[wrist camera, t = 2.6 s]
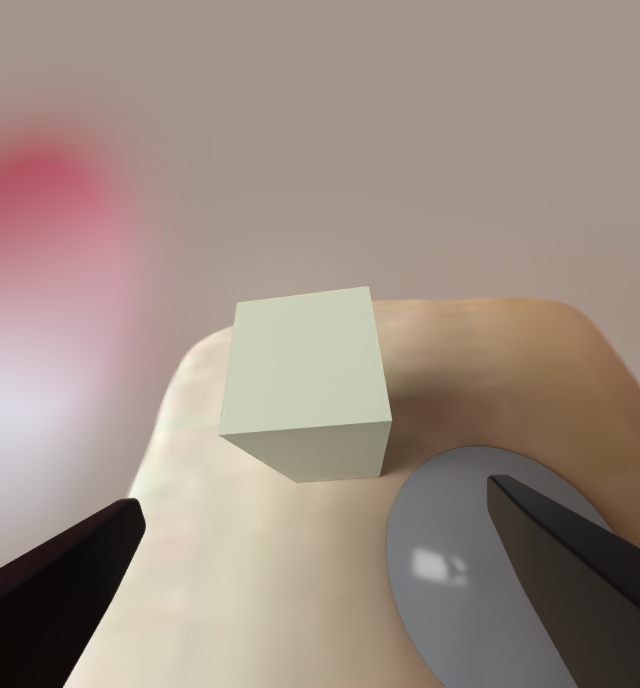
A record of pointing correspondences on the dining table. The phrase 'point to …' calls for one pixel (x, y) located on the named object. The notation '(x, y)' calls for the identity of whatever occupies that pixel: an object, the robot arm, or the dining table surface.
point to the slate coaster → (471, 573)
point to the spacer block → (308, 386)
